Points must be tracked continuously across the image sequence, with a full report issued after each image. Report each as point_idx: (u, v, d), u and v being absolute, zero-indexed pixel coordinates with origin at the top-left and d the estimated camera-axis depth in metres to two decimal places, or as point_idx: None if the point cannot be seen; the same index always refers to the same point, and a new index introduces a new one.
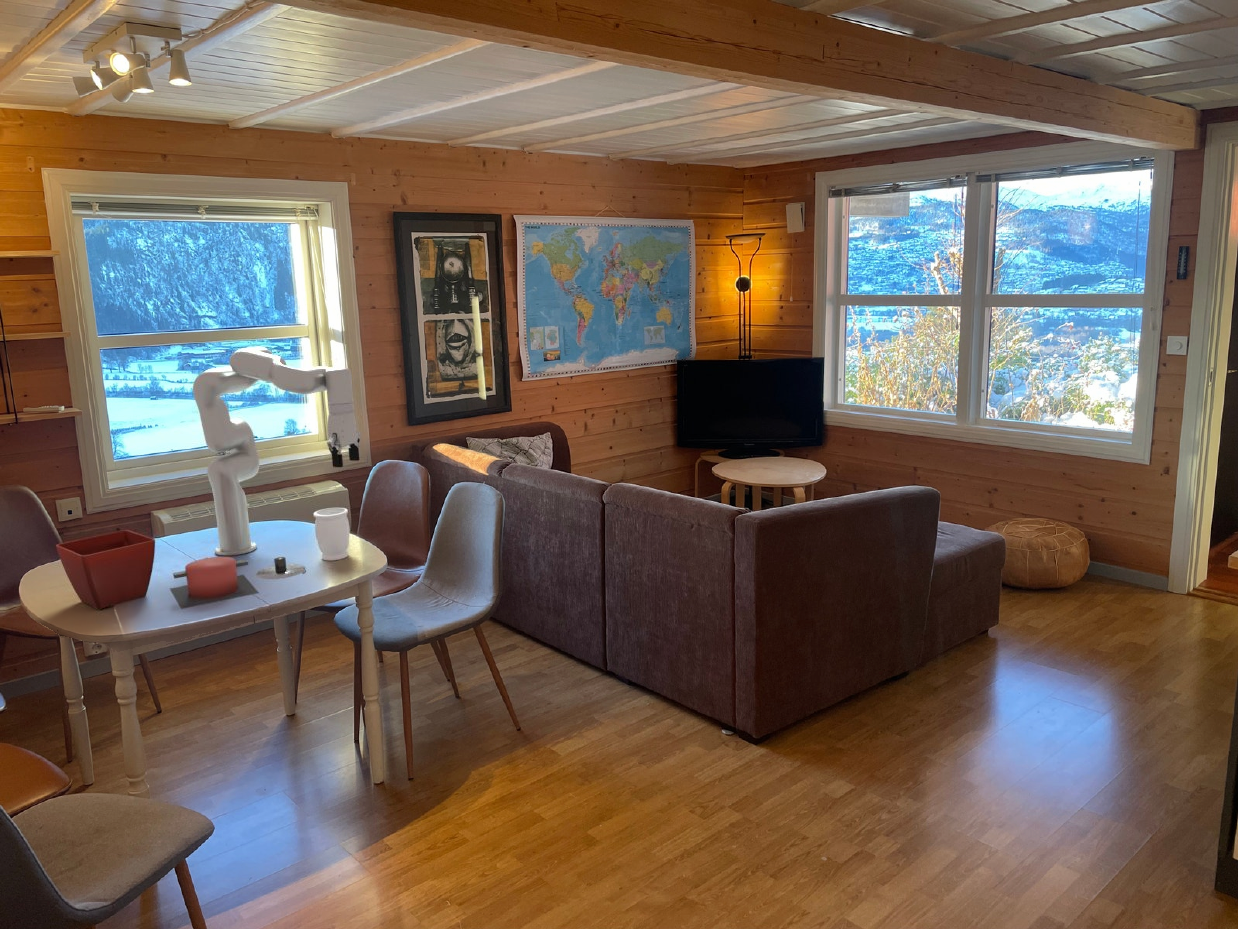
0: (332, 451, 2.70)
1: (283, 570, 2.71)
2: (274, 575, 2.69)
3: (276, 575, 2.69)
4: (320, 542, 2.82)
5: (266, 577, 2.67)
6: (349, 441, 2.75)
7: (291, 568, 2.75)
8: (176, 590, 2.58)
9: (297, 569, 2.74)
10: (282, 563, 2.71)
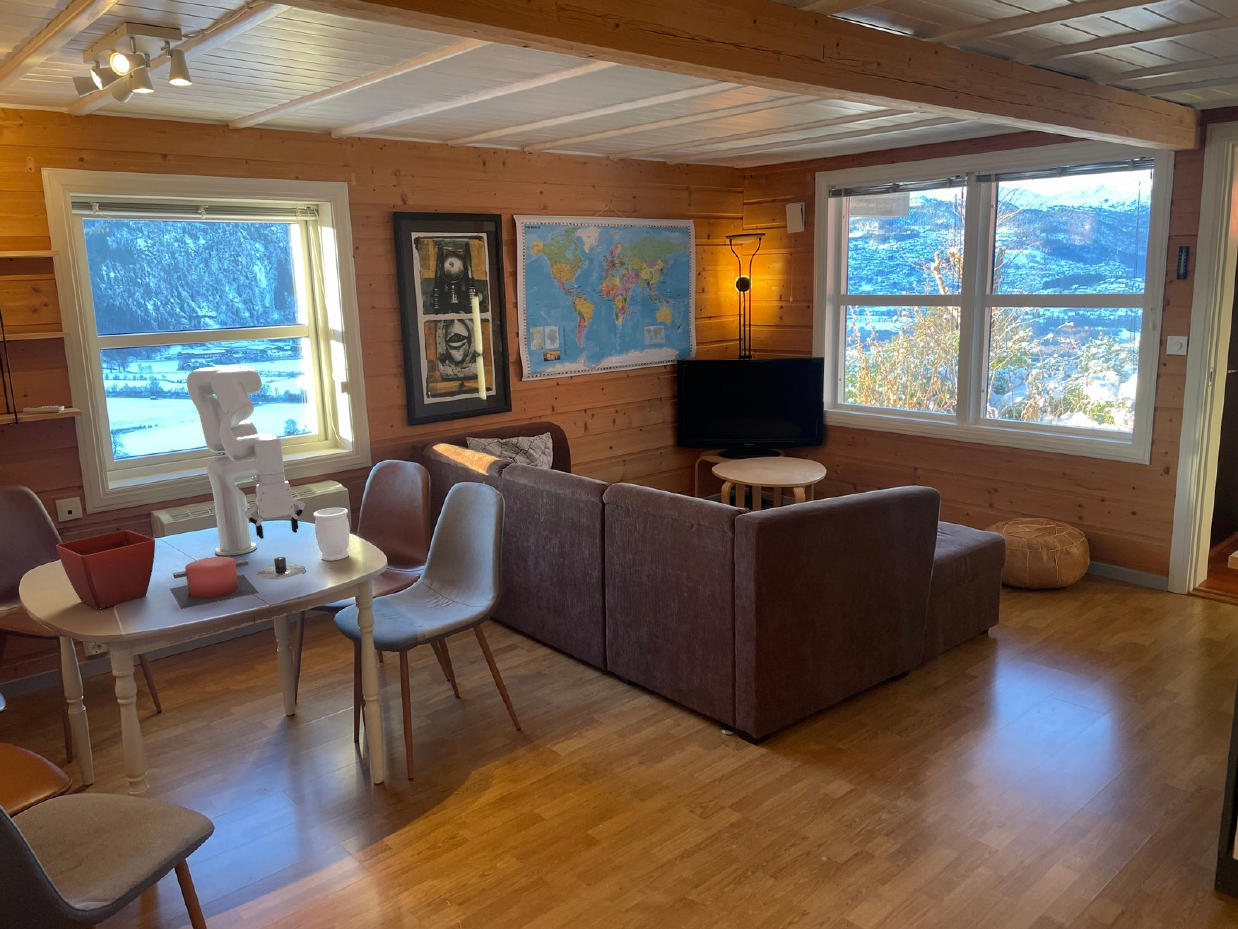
0: None
1: (283, 570, 2.71)
2: (274, 575, 2.69)
3: (276, 575, 2.69)
4: (320, 542, 2.82)
5: (266, 577, 2.67)
6: None
7: (291, 568, 2.75)
8: (176, 590, 2.58)
9: (297, 569, 2.74)
10: (282, 563, 2.71)
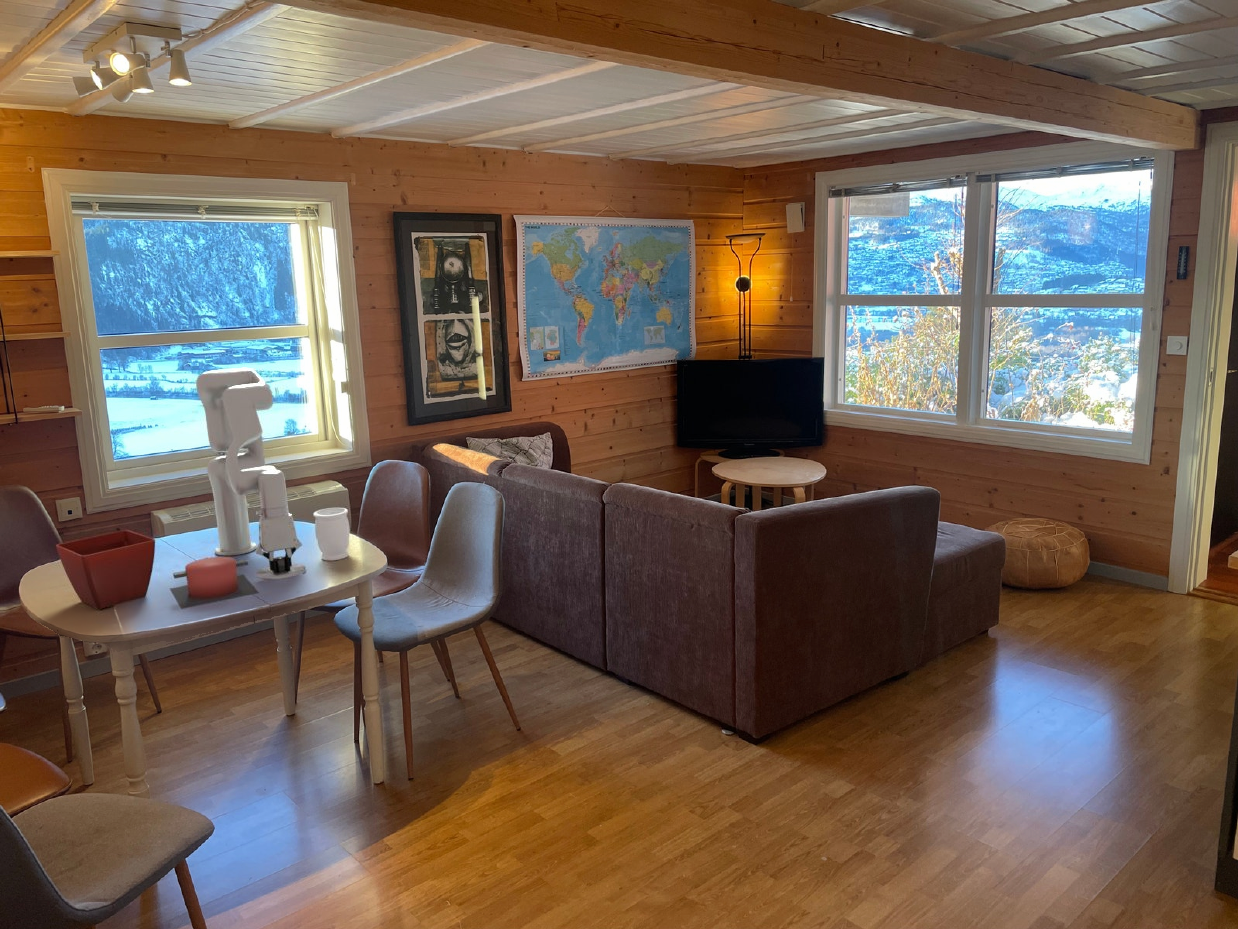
0: None
1: (283, 569, 2.71)
2: (274, 575, 2.69)
3: (276, 574, 2.69)
4: (320, 542, 2.82)
5: (266, 577, 2.67)
6: None
7: (291, 568, 2.75)
8: (176, 590, 2.58)
9: (297, 569, 2.74)
10: (282, 563, 2.71)
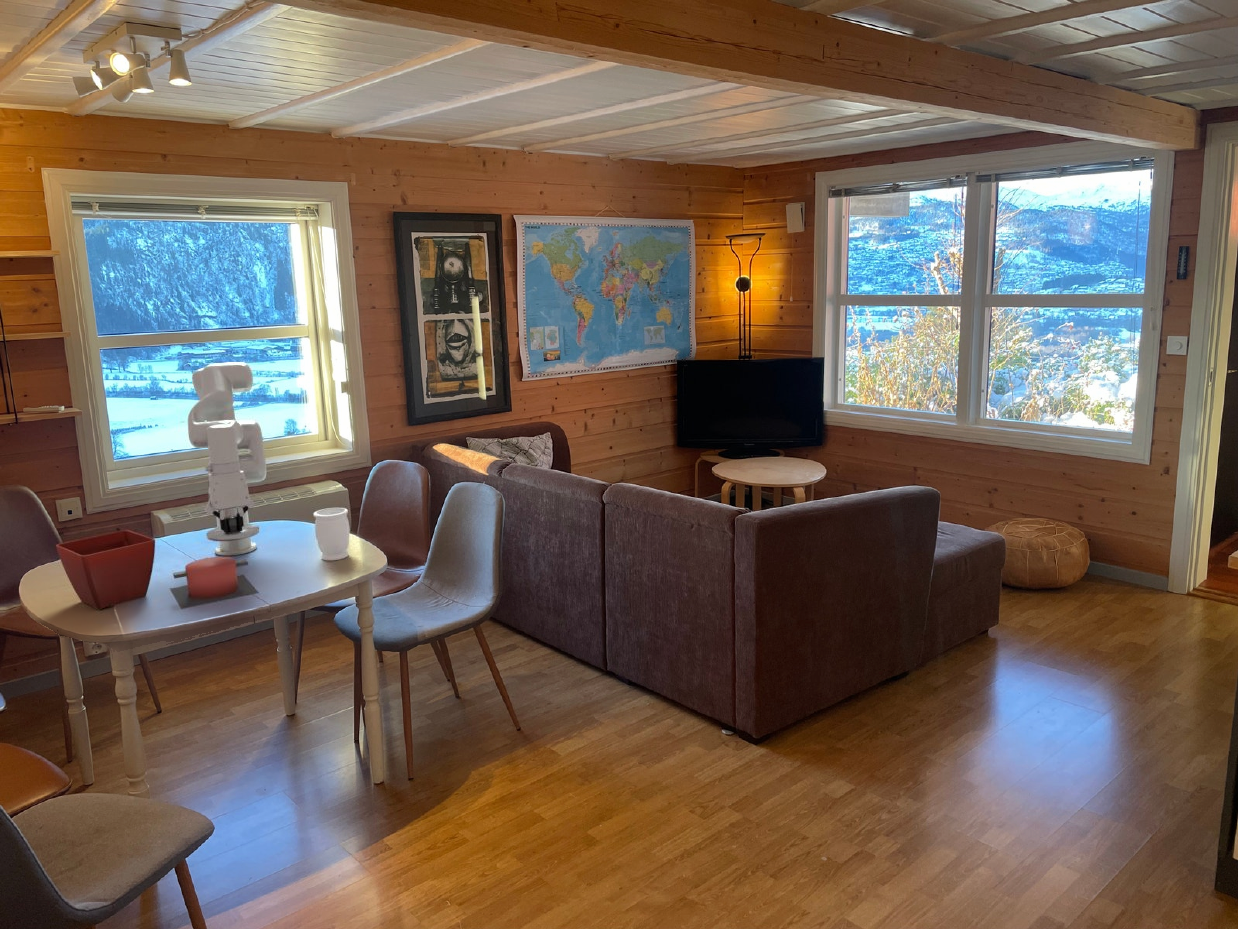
0: None
1: (235, 529, 2.58)
2: (225, 534, 2.55)
3: (228, 534, 2.56)
4: (320, 542, 2.82)
5: (216, 536, 2.54)
6: None
7: (244, 528, 2.61)
8: (176, 590, 2.58)
9: (250, 529, 2.60)
10: (234, 522, 2.57)
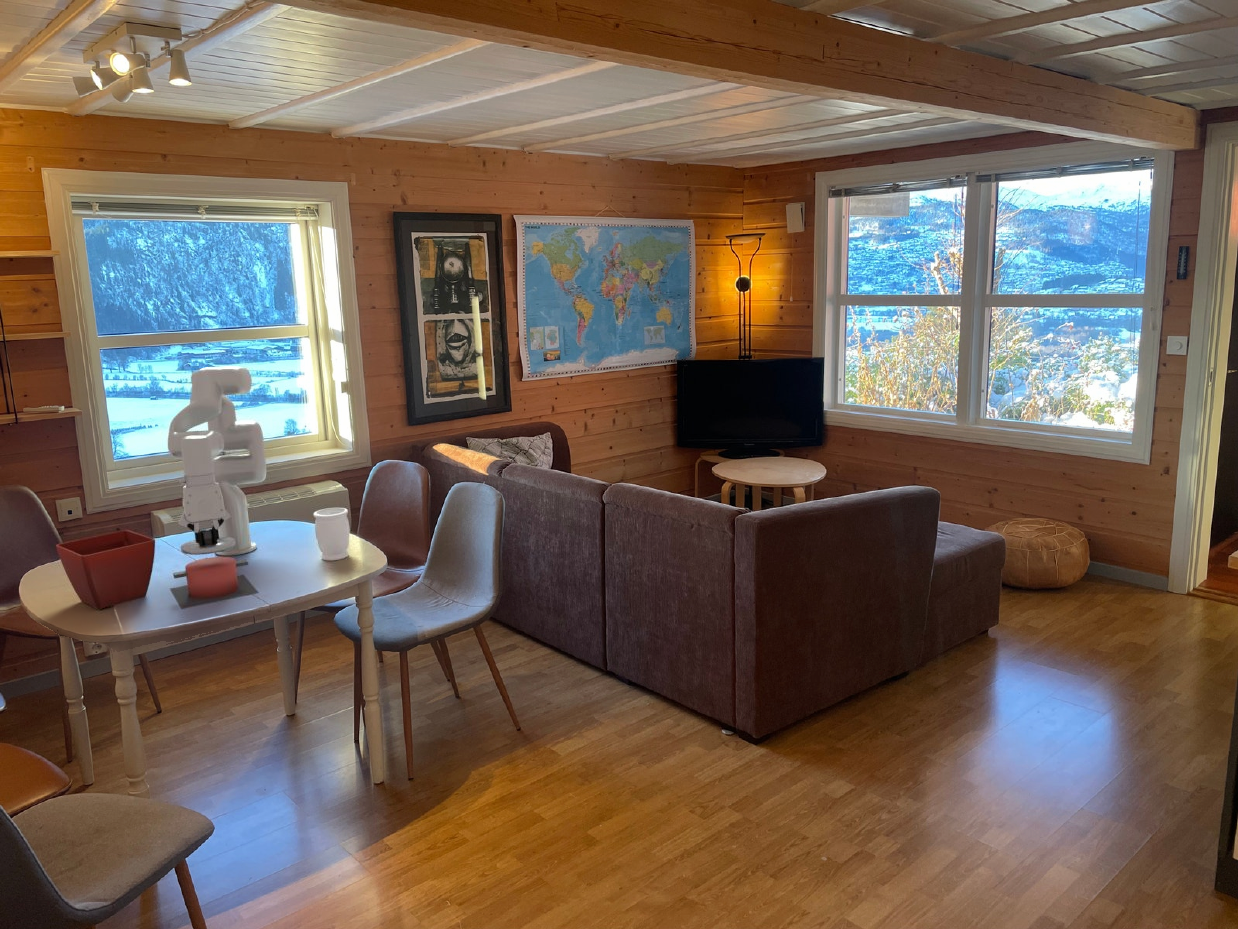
0: None
1: (210, 542, 2.53)
2: (199, 547, 2.50)
3: (202, 547, 2.50)
4: (320, 542, 2.82)
5: (190, 549, 2.48)
6: None
7: (219, 541, 2.56)
8: (176, 590, 2.58)
9: (225, 542, 2.55)
10: (209, 535, 2.52)
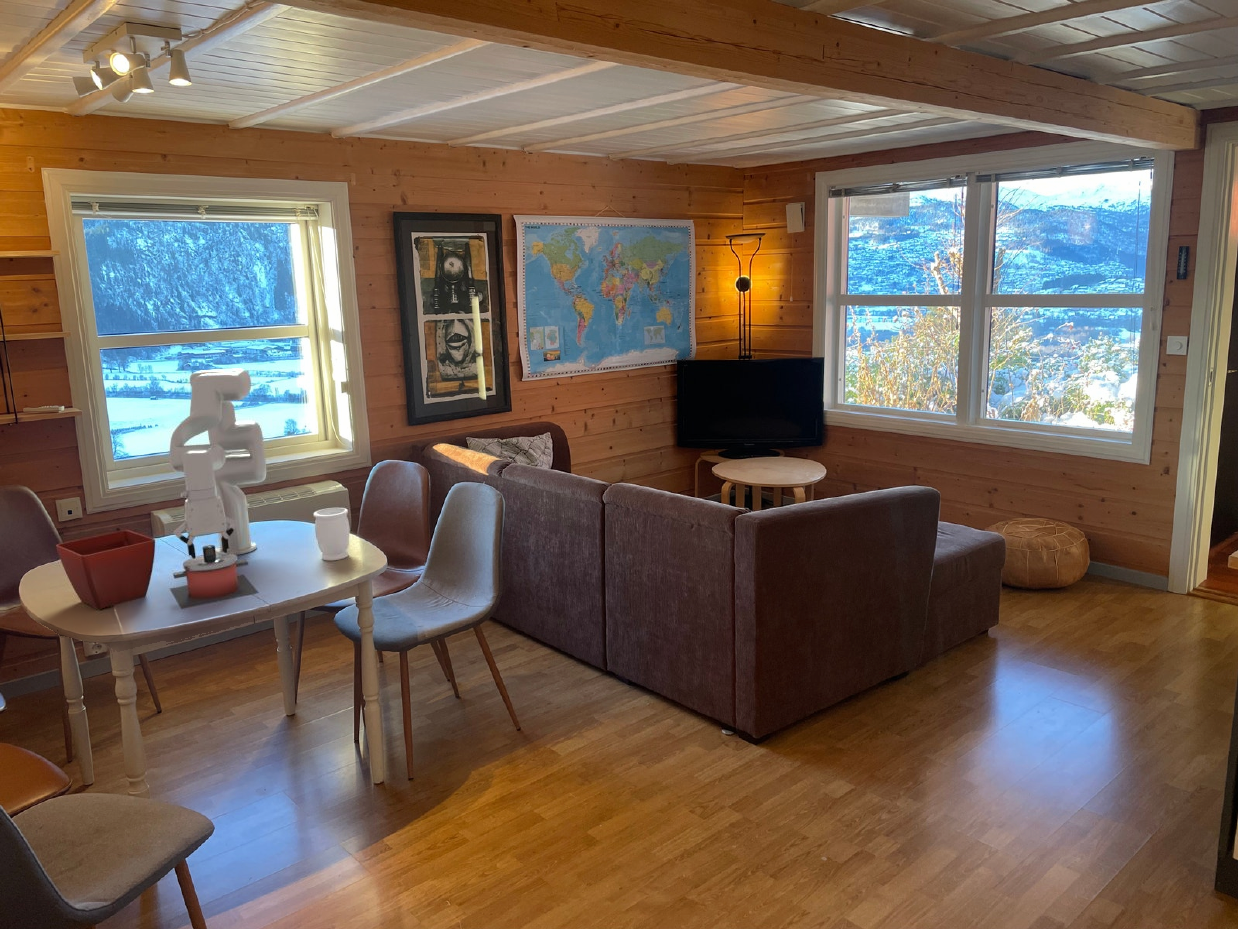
0: None
1: (212, 559, 2.54)
2: (201, 564, 2.51)
3: (204, 564, 2.52)
4: (320, 542, 2.82)
5: (192, 566, 2.50)
6: None
7: (222, 557, 2.57)
8: (176, 590, 2.58)
9: (228, 558, 2.56)
10: (211, 552, 2.53)
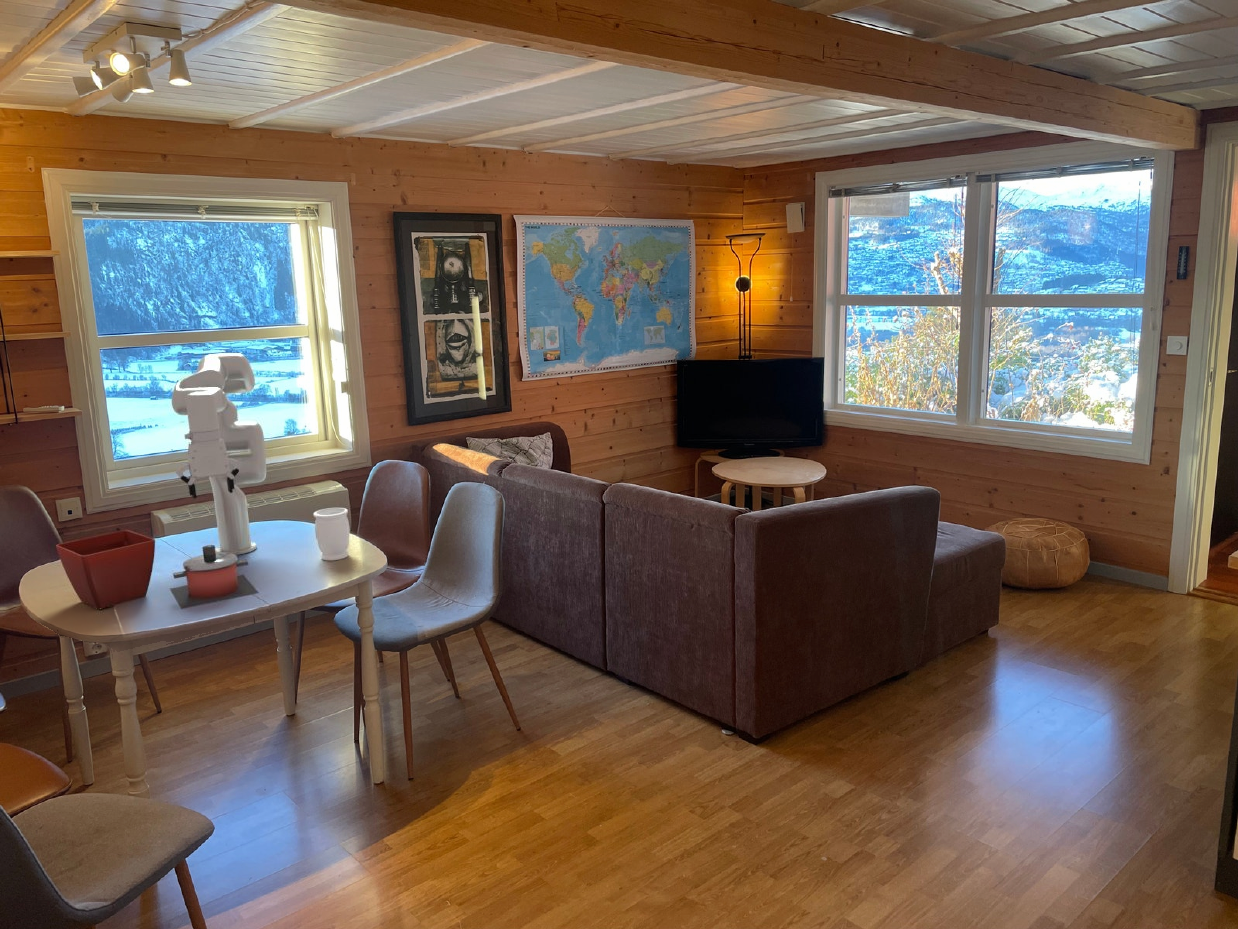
0: None
1: (212, 559, 2.54)
2: (201, 564, 2.51)
3: (204, 564, 2.52)
4: (320, 542, 2.82)
5: (192, 566, 2.50)
6: None
7: (222, 557, 2.57)
8: (176, 590, 2.58)
9: (227, 558, 2.56)
10: (211, 552, 2.53)
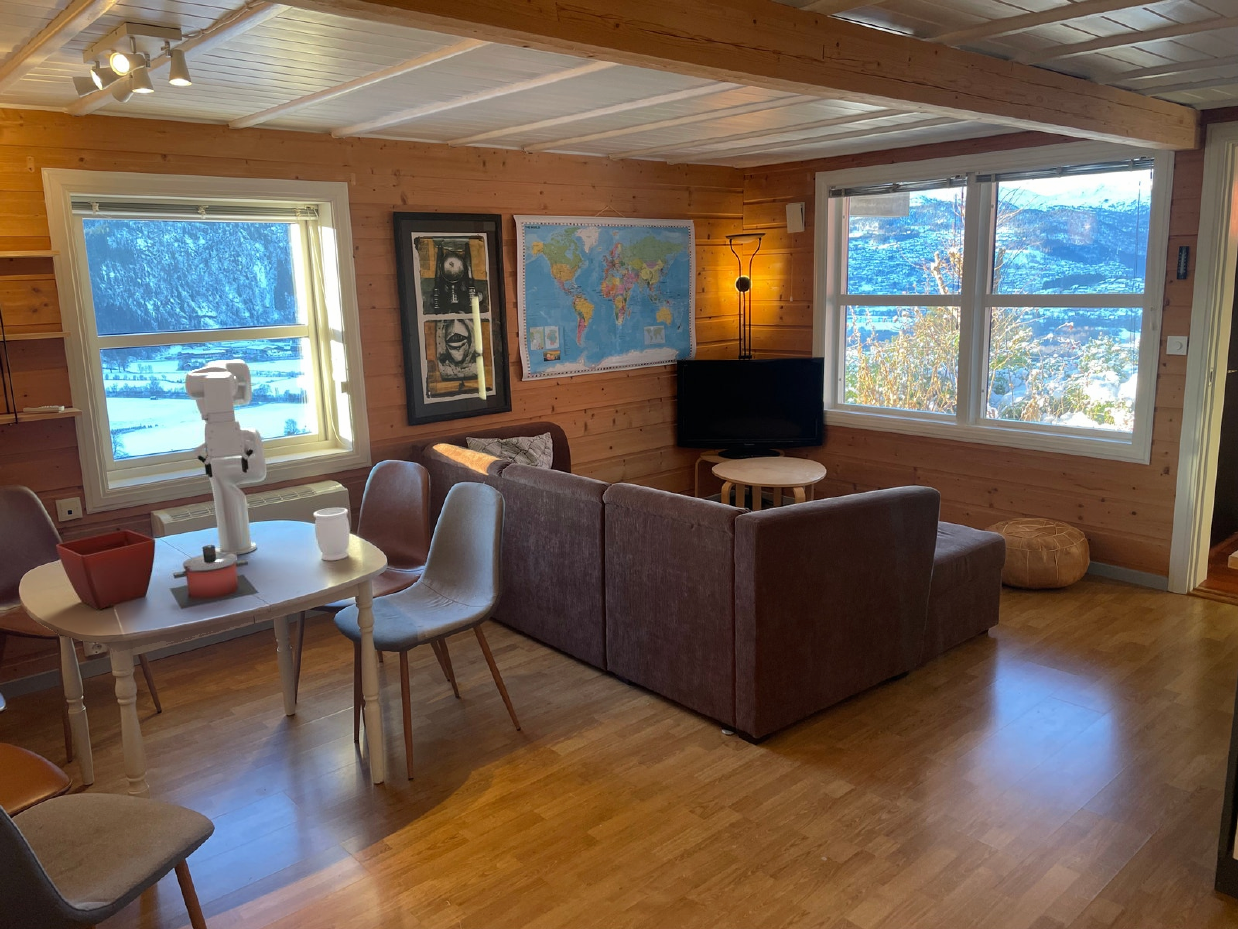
0: None
1: (212, 559, 2.54)
2: (201, 564, 2.51)
3: (204, 564, 2.52)
4: (320, 542, 2.82)
5: (192, 566, 2.50)
6: None
7: (222, 557, 2.57)
8: (176, 590, 2.58)
9: (227, 558, 2.56)
10: (211, 552, 2.53)
